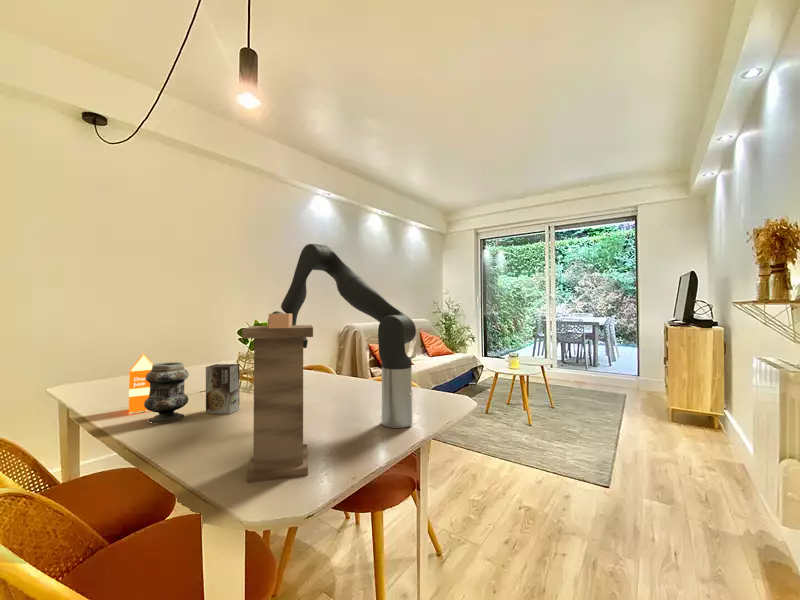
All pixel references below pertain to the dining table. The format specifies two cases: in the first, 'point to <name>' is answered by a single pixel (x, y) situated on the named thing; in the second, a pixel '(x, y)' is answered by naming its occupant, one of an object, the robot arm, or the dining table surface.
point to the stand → (278, 402)
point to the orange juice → (139, 384)
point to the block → (280, 320)
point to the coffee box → (222, 388)
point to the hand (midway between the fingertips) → (285, 346)
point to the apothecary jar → (166, 391)
